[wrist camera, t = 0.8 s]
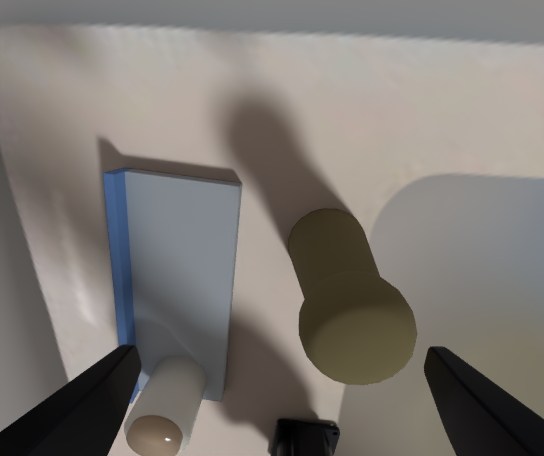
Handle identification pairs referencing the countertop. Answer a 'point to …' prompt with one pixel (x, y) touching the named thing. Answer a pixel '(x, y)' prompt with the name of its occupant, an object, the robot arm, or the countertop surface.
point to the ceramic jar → (166, 408)
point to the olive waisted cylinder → (348, 302)
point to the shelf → (173, 267)
